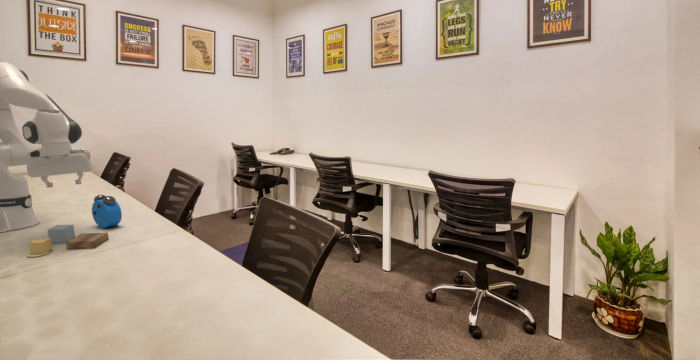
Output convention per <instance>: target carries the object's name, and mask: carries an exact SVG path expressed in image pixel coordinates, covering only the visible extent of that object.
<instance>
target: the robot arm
mask: <svg viewBox="0 0 700 360" xmlns="http://www.w3.org/2000/svg"><path fill="white" fill-rule="evenodd" d="M11 105H13V106H16V107H21V108H26V109H32V110H35V117H33V119H31V120H29V121H26V122H25V123H24V124H23V126H21V129H22V133H21V131H19V129H18V127H17V124H16V122H15V119H14V116H13V111H12V108H11ZM82 135H83V131H82V129H81V126H80V124H79V123H77V122H76V121H75V120H74V119H72V118H71V117H70V116H69V115H68V114H67V113H66V112H65V111H64V110H63V109H62V108H61V107H60V106H59V104H58V103H56V102H55V100H54V99H53V98H51V97H50V95H48V94H46V93H45V92H42V91H40V90H38V89H37V88H36V87H35V86H34V85H32V84H31V83H30V79H29V77H28V74H26V72H25V71H24V70H22V69H19V68H18V67H16V66H15V65H14V64H12V63H10V62H6V61H5V62H4V61H0V140H1V141H2V142H0V233H5V232H10V231H16V230H21V229H25V228H29V227H33V226H36V225H38V224H39V220H38V218H37V217H36V215H35V212H34V209H33V200H32V196H31V194H30V191H29V184H28V179H27V178H25V176H23V175H21V174H17V173H14V172H13V173H12V172H11V171H9V168H8V167H17V166H26V171H27V172H26V173H27V175H28V176H29V177H30V178H39V177H40V180H41V181H42V182H43V183H44V184H45V185H46V188H48V189H49V188H53V187H54V184H53V182H50V181H49V180H48V179H49V177H50V176H60V175H70V174H71V175H72V174H76V176H77V177H78V178H77V179H75V180H74V181H75V182H74V183H75V185H82V178H83V177H84V173H87V172H91V171H92V170H93V169H94V168H93V167H94V166H93V164H92V161H91V152H90V151H89V150H87V149H85V148H81V149H72V145H71V144H75V143H77V142H78V141H79V140H80V139H81V137H83V136H82ZM40 146H41V147H40Z"/></svg>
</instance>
